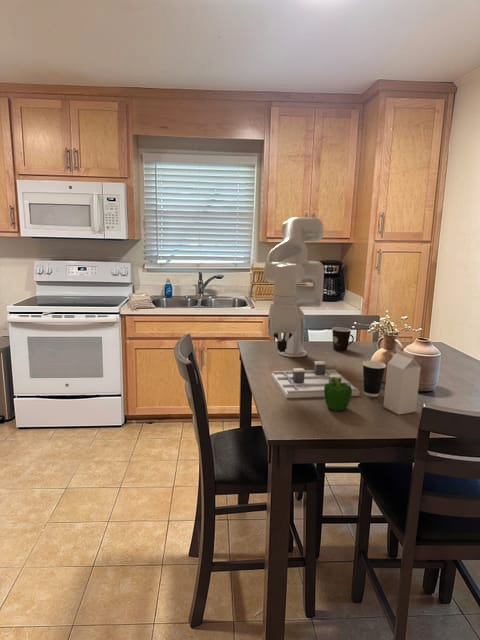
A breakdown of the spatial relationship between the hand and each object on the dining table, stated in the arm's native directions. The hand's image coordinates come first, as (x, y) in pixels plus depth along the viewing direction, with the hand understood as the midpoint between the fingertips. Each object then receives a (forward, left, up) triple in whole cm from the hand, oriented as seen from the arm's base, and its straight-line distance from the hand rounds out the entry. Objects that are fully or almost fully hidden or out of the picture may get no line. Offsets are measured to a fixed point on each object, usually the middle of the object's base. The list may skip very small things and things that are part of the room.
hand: (281, 351), depth 160 cm
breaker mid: (0, +7, -11) cm, 13 cm away
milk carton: (+24, +34, -14) cm, 43 cm away
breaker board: (0, +13, -13) cm, 18 cm away
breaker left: (-8, +17, -11) cm, 22 cm away
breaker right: (+8, +17, -12) cm, 22 cm away
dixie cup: (+10, +31, -14) cm, 35 cm away
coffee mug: (-46, +41, -14) cm, 63 cm away
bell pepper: (+21, +14, -14) cm, 28 cm away
